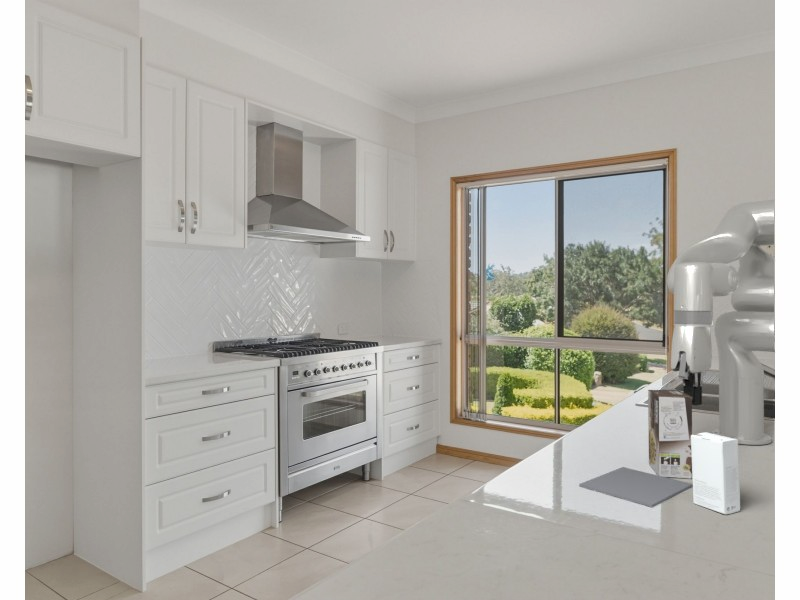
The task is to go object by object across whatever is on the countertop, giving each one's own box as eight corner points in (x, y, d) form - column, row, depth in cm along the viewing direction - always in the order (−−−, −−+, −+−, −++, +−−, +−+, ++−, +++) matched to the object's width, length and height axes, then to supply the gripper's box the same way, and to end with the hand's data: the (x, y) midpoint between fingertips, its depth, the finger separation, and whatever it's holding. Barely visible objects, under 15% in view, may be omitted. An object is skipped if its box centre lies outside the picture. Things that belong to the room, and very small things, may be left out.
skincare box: (741, 511, 94) (741, 438, 94) (724, 516, 92) (723, 442, 92) (707, 499, 99) (707, 430, 99) (690, 503, 97) (689, 433, 97)
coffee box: (693, 479, 110) (693, 396, 110) (658, 477, 111) (658, 396, 111) (680, 465, 119) (680, 389, 119) (647, 463, 120) (647, 388, 120)
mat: (622, 468, 117) (622, 466, 117) (692, 486, 106) (692, 484, 106) (579, 486, 107) (579, 484, 107) (651, 507, 96) (651, 504, 96)
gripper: (690, 318, 130) (689, 398, 130) (659, 319, 120) (658, 405, 120) (725, 319, 124) (725, 402, 124) (696, 320, 114) (695, 411, 114)
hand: (692, 404), depth 122 cm, fingers closed
